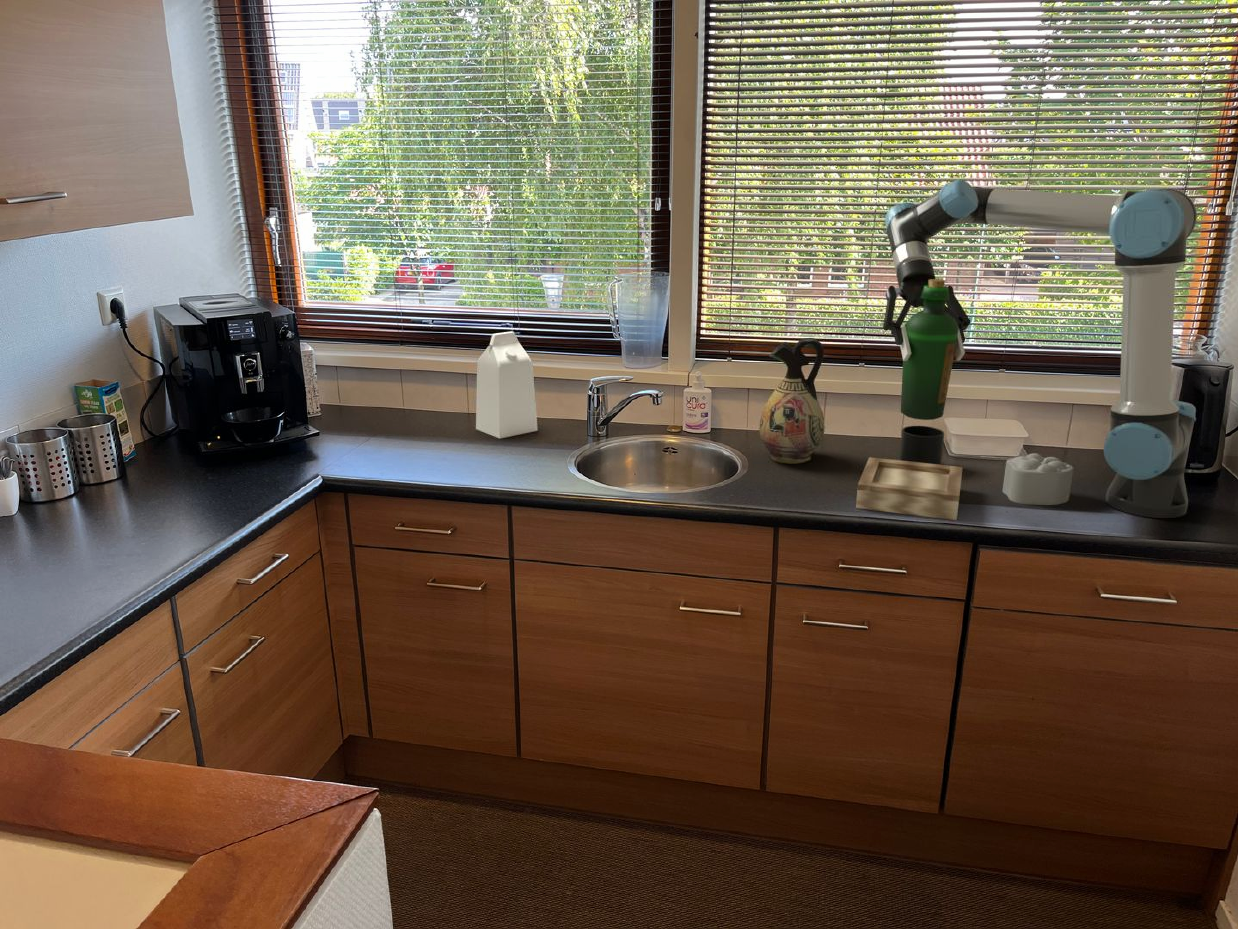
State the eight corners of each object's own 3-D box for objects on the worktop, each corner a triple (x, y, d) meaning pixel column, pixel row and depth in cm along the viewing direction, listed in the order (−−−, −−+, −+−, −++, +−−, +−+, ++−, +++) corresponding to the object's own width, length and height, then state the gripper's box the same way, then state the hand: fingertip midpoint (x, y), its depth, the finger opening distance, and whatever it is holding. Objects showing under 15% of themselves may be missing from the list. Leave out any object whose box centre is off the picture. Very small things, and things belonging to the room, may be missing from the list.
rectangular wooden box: (959, 489, 213) (962, 467, 211) (956, 520, 195) (959, 496, 193) (867, 478, 219) (869, 457, 218) (855, 507, 202) (857, 484, 200)
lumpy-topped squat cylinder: (998, 488, 214) (1003, 450, 211) (1058, 489, 213) (1064, 452, 211) (1013, 504, 204) (1019, 465, 202) (1076, 506, 203) (1083, 466, 201)
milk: (513, 421, 265) (510, 327, 257) (537, 430, 257) (535, 333, 249) (476, 429, 258) (471, 332, 250) (499, 438, 249) (495, 339, 241)
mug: (929, 458, 234) (932, 422, 232) (945, 474, 223) (950, 436, 220) (890, 458, 234) (893, 422, 231) (905, 474, 223) (909, 436, 220)
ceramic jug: (754, 466, 228) (760, 340, 219) (761, 447, 242) (767, 329, 233) (827, 471, 224) (837, 344, 215) (830, 452, 239) (839, 332, 229)
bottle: (959, 419, 198) (976, 282, 190) (916, 424, 195) (932, 284, 186) (925, 406, 208) (941, 275, 199) (884, 411, 204) (898, 277, 195)
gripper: (959, 279, 208) (981, 366, 199) (856, 279, 207) (873, 367, 197) (973, 257, 202) (996, 346, 192) (866, 257, 200) (884, 346, 190)
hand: (934, 357), depth 194 cm, fingers closed on bottle, 10 cm apart
